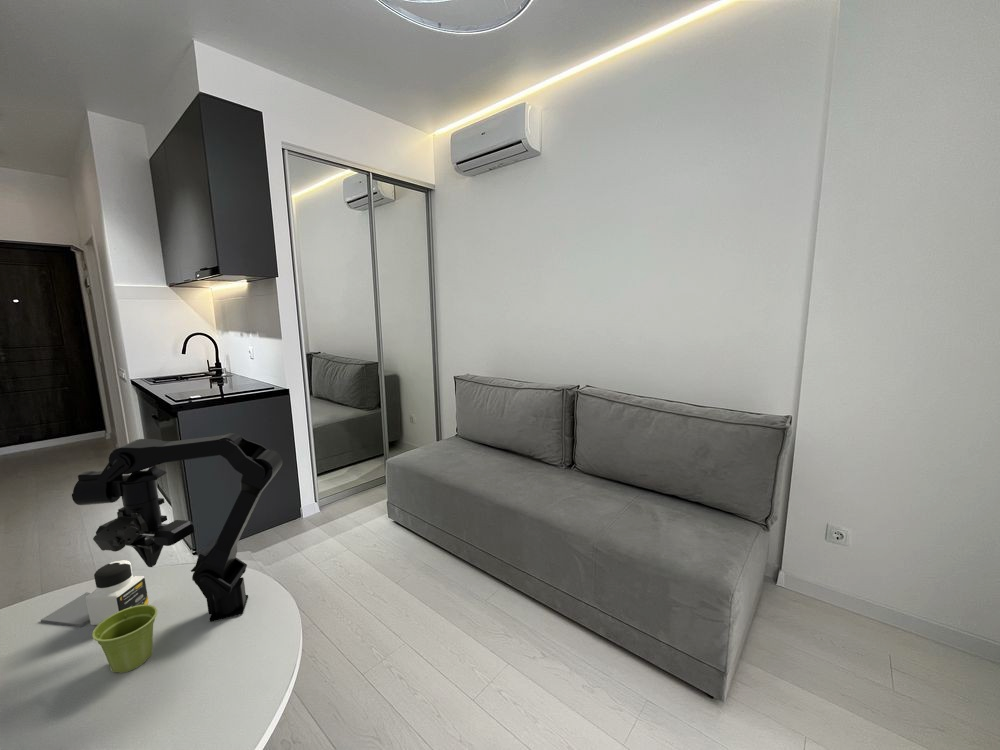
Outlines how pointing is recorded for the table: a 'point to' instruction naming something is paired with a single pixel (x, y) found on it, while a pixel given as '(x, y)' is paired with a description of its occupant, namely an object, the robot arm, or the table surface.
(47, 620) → the mat
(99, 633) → the plant pot
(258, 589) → the table surface
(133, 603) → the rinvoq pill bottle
